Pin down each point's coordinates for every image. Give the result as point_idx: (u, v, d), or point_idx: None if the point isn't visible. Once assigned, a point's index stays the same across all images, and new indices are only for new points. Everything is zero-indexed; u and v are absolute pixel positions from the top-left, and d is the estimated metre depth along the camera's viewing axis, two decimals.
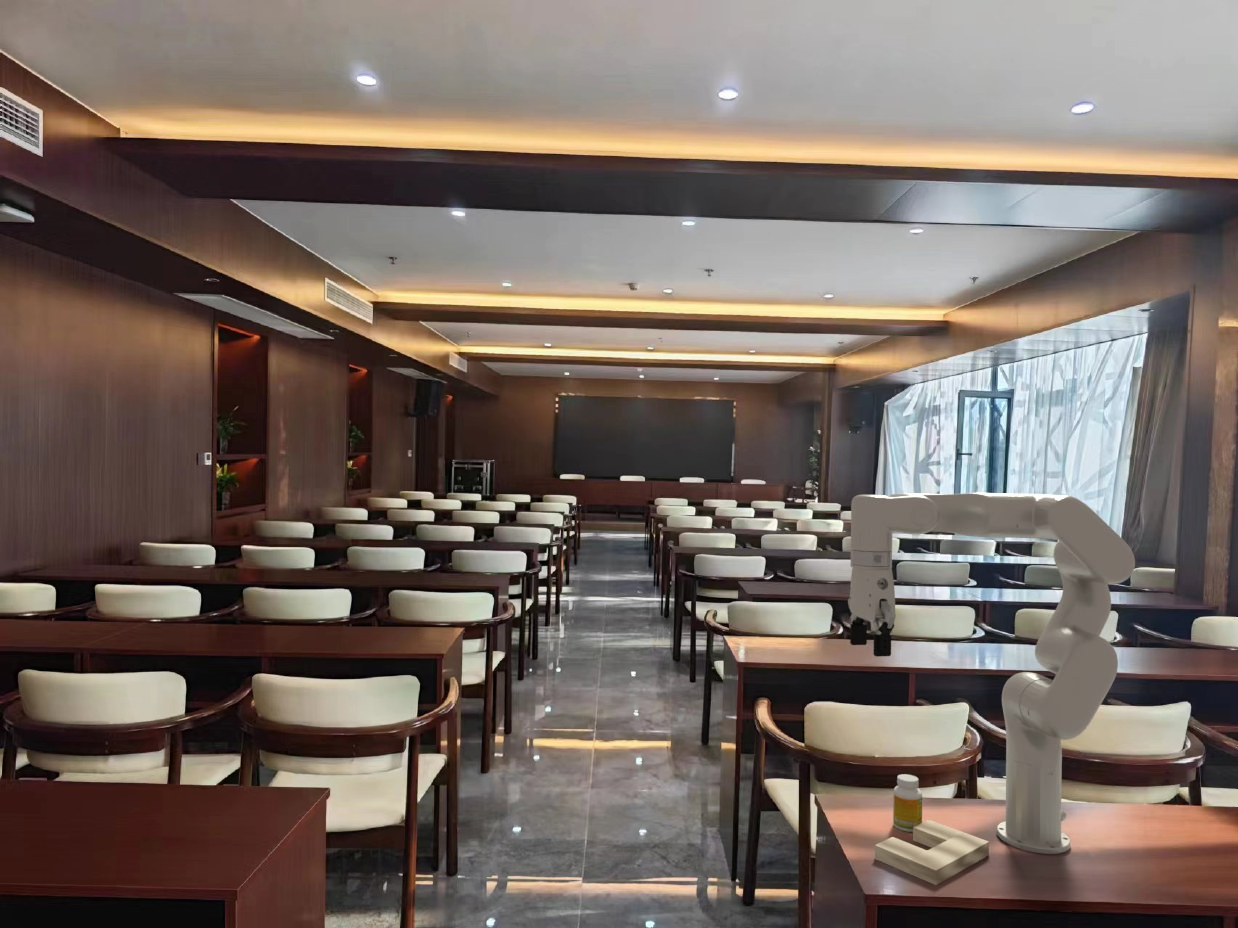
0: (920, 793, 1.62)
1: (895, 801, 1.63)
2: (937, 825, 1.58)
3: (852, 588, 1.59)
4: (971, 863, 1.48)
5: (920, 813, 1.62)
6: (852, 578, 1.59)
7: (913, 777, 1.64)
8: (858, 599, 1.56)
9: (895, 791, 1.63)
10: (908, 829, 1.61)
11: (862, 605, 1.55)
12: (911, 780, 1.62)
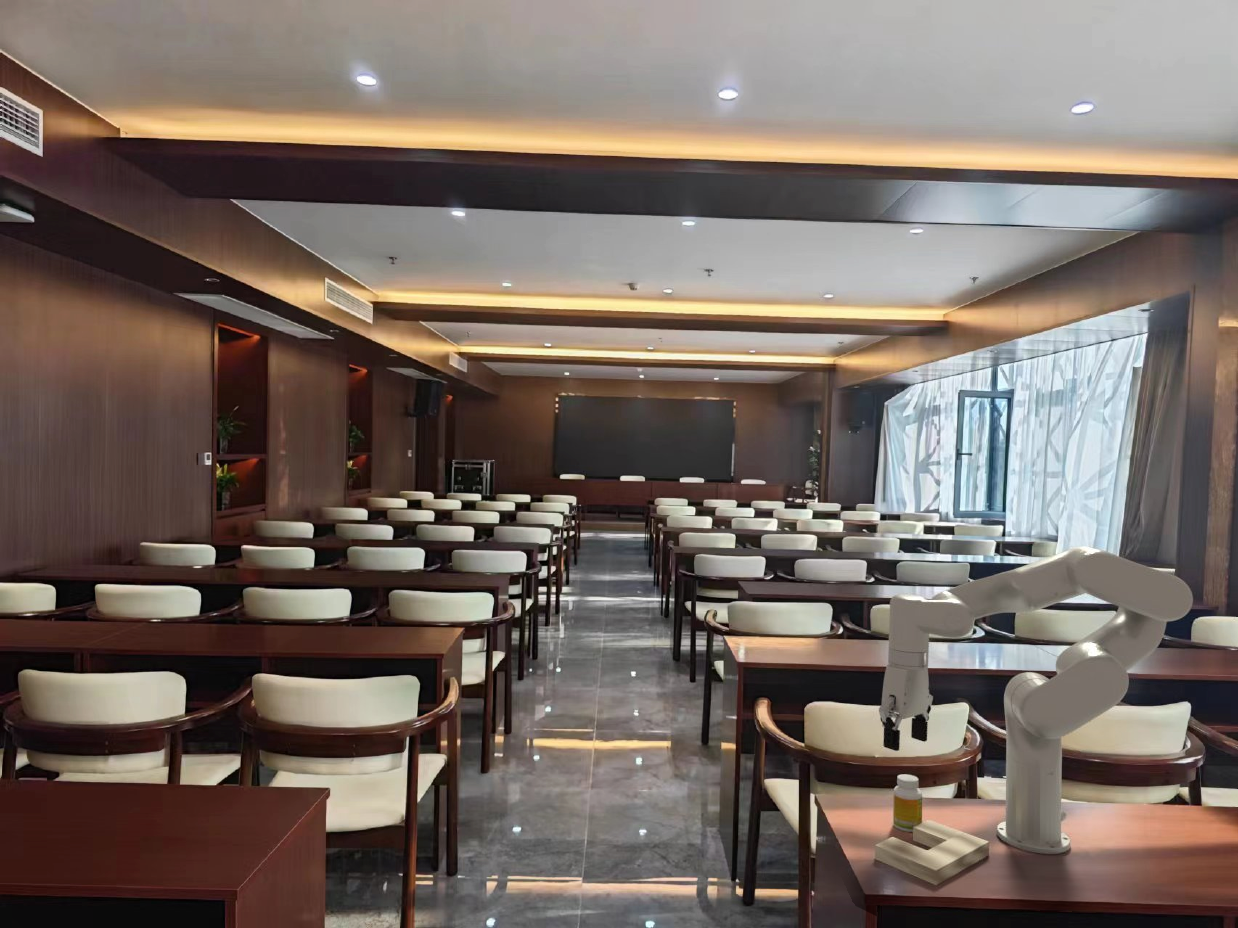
0: (920, 793, 1.62)
1: (895, 801, 1.63)
2: (937, 825, 1.58)
3: (909, 692, 1.60)
4: (971, 863, 1.48)
5: (920, 813, 1.62)
6: (909, 682, 1.60)
7: (913, 777, 1.64)
8: (917, 698, 1.62)
9: (895, 791, 1.63)
10: (908, 829, 1.61)
11: (921, 701, 1.63)
12: (911, 780, 1.62)
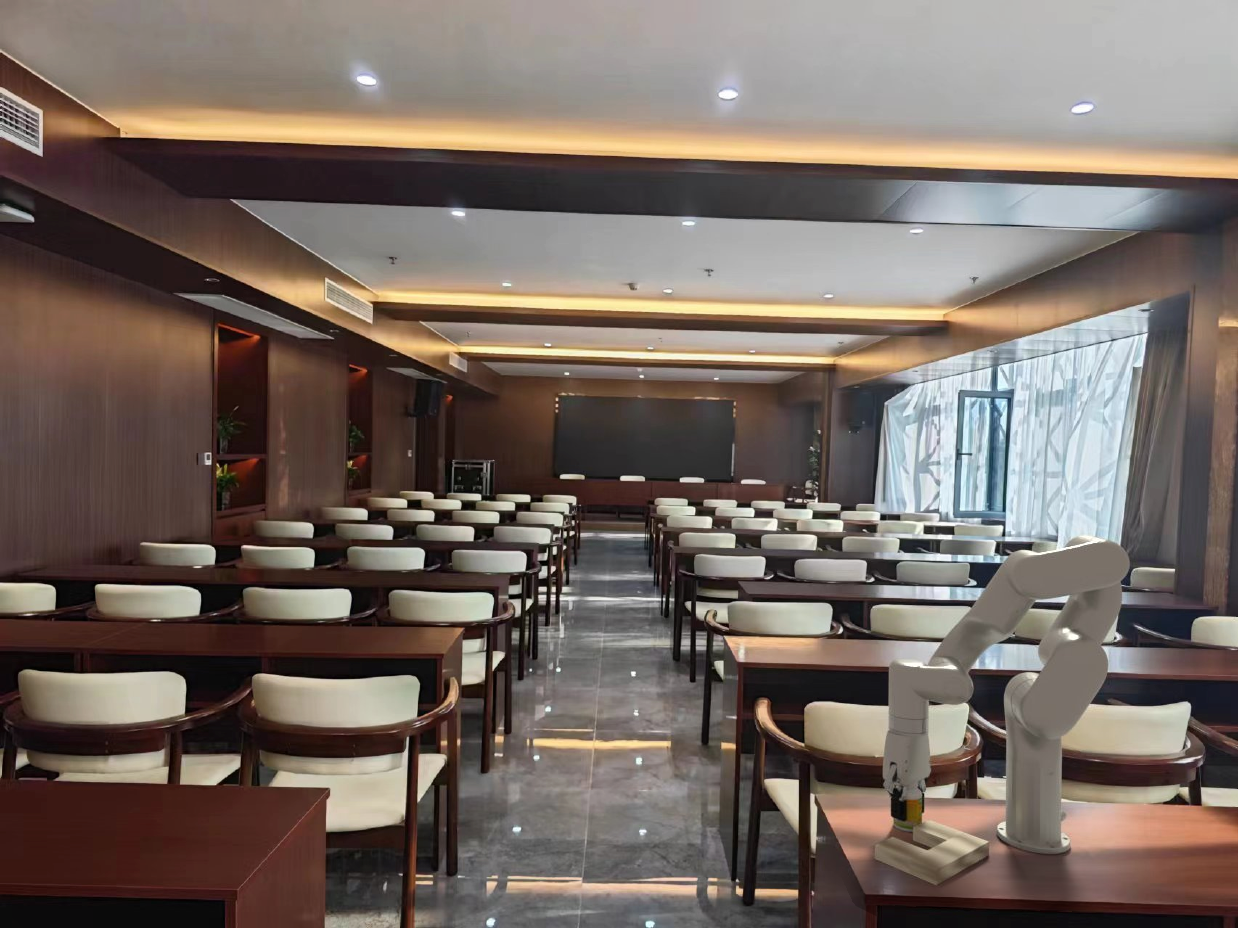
0: (920, 793, 1.62)
1: None
2: (937, 825, 1.58)
3: (910, 759, 1.60)
4: (971, 863, 1.48)
5: (920, 813, 1.62)
6: (910, 749, 1.60)
7: None
8: (918, 764, 1.62)
9: None
10: (908, 829, 1.61)
11: (922, 767, 1.63)
12: None
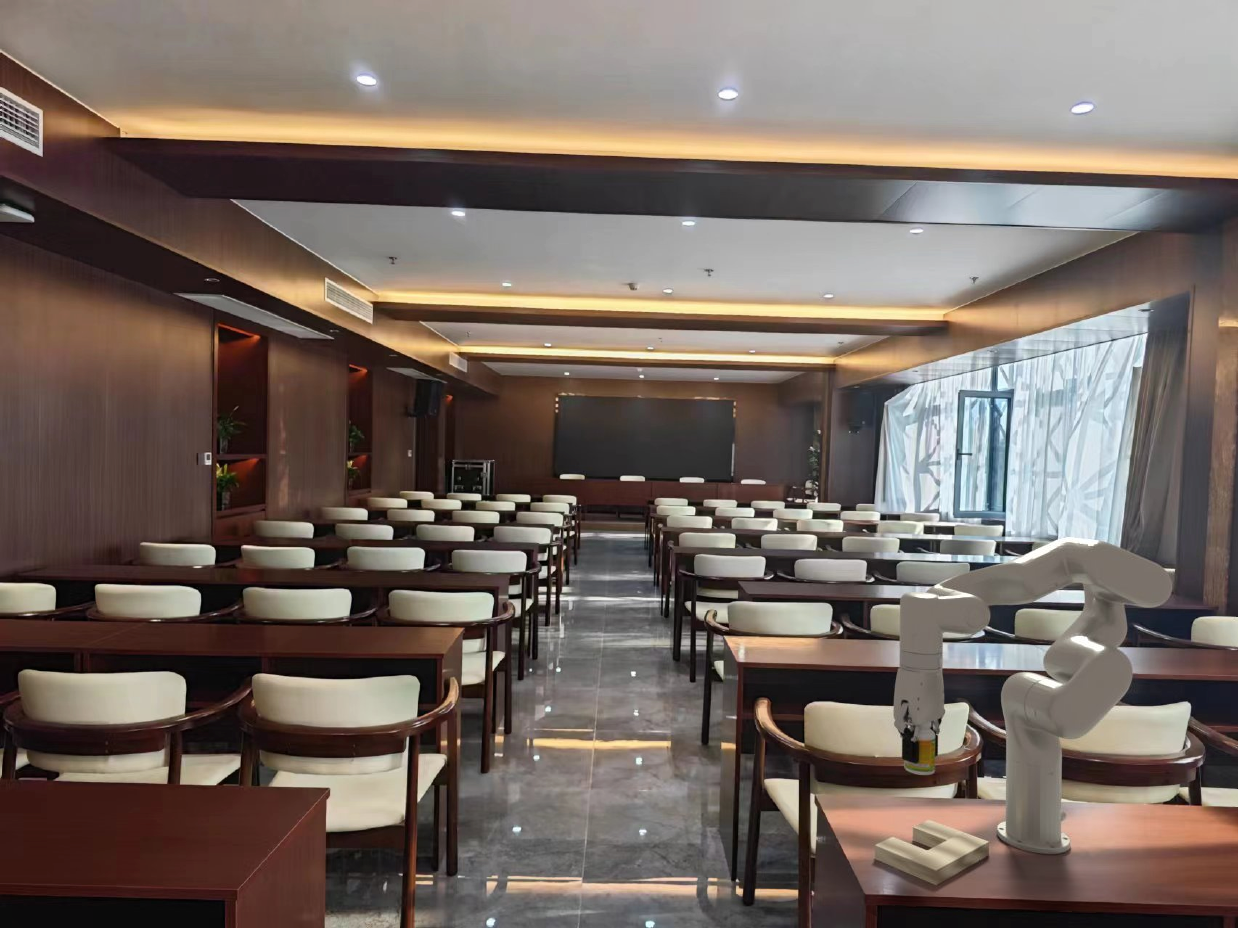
0: (933, 734, 1.52)
1: None
2: (937, 825, 1.58)
3: (922, 696, 1.50)
4: (971, 863, 1.48)
5: (933, 755, 1.51)
6: (923, 685, 1.50)
7: None
8: (932, 703, 1.51)
9: None
10: (920, 772, 1.51)
11: (936, 706, 1.52)
12: None
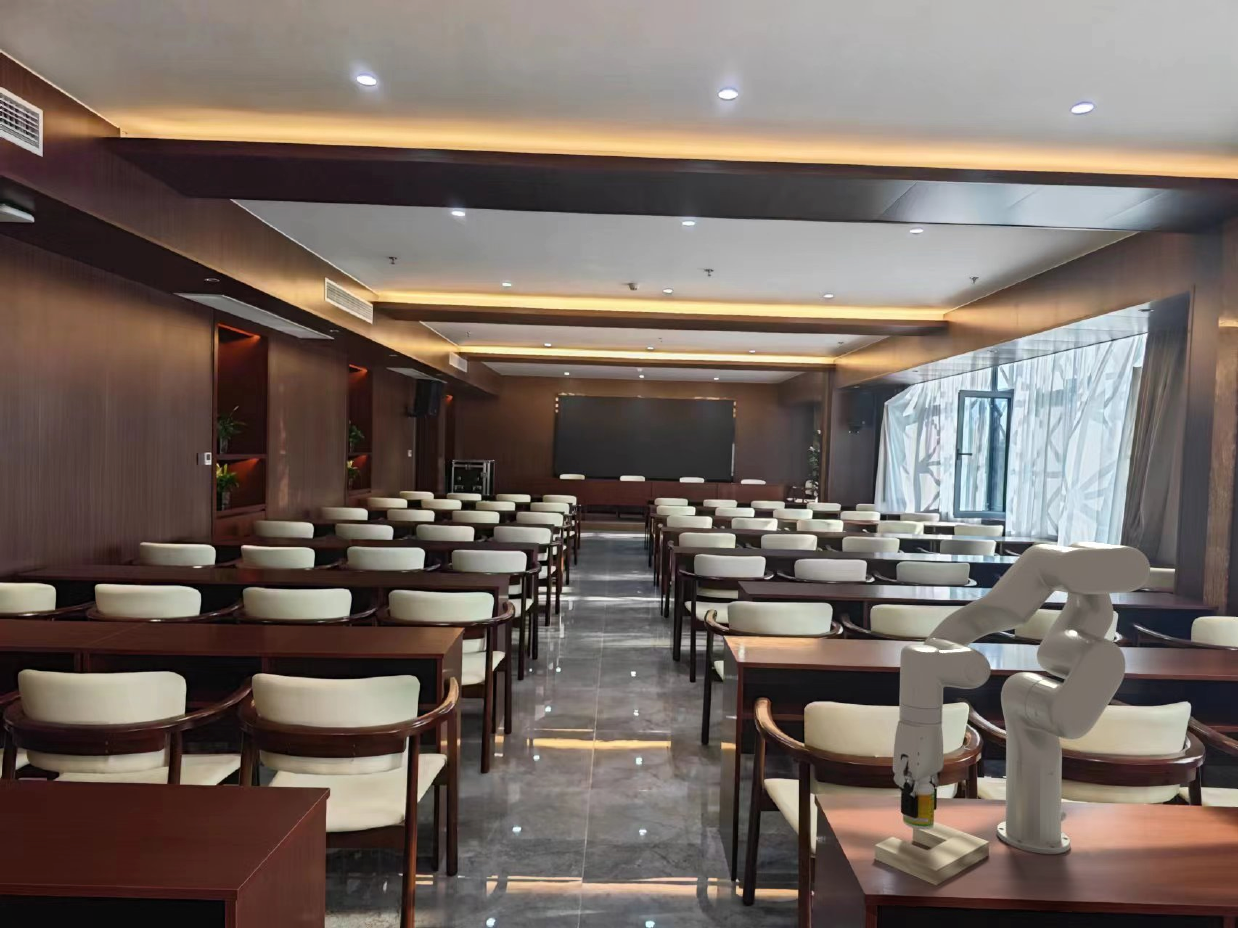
0: (932, 788, 1.51)
1: None
2: (937, 825, 1.58)
3: (922, 751, 1.49)
4: (971, 863, 1.48)
5: (932, 809, 1.51)
6: (923, 740, 1.49)
7: None
8: (931, 757, 1.51)
9: None
10: (919, 826, 1.50)
11: (935, 760, 1.52)
12: None
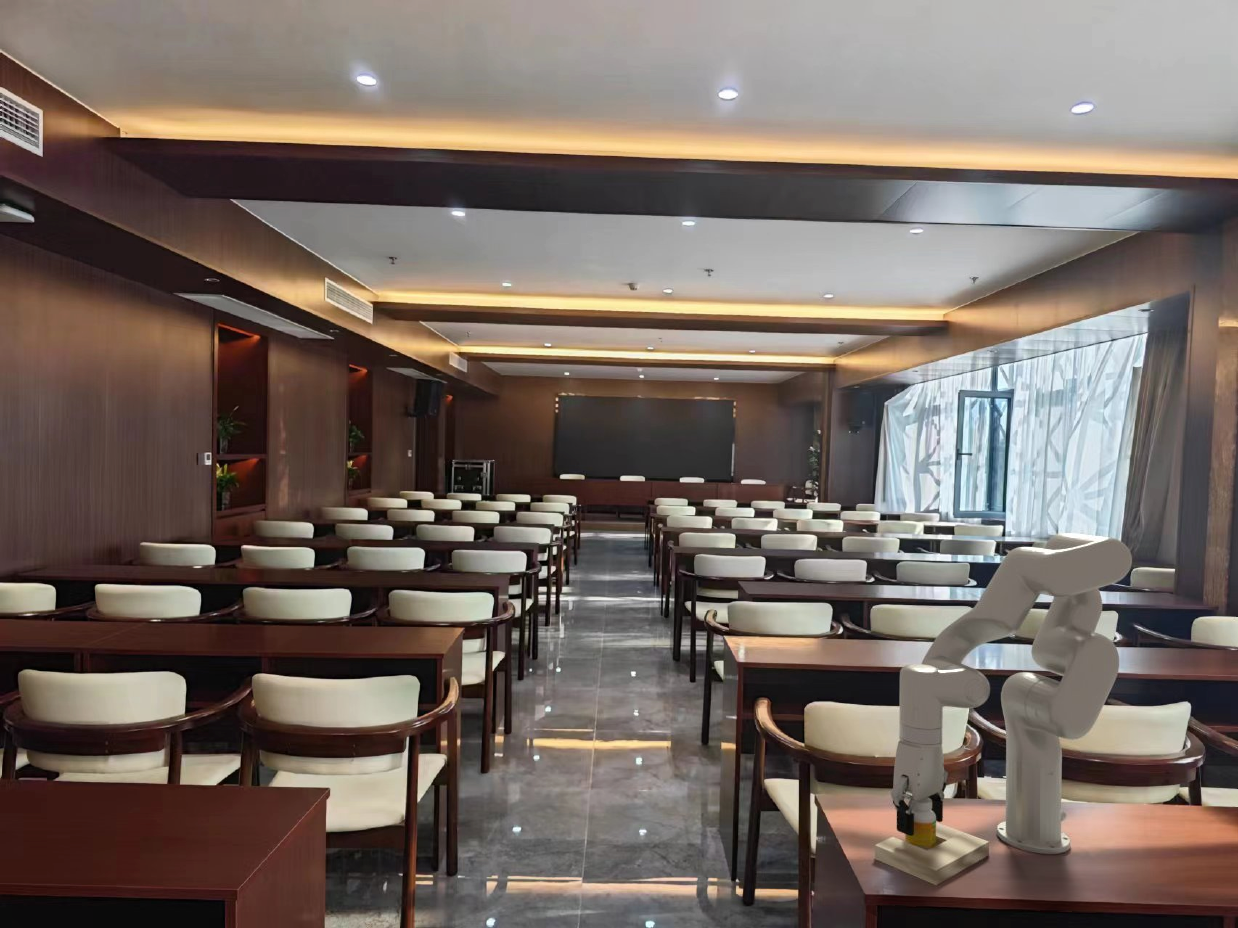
0: (934, 816, 1.51)
1: None
2: (937, 825, 1.58)
3: (923, 771, 1.49)
4: (971, 863, 1.48)
5: (934, 837, 1.51)
6: (923, 761, 1.49)
7: (926, 798, 1.53)
8: (932, 777, 1.51)
9: None
10: None
11: (936, 780, 1.52)
12: (924, 802, 1.51)
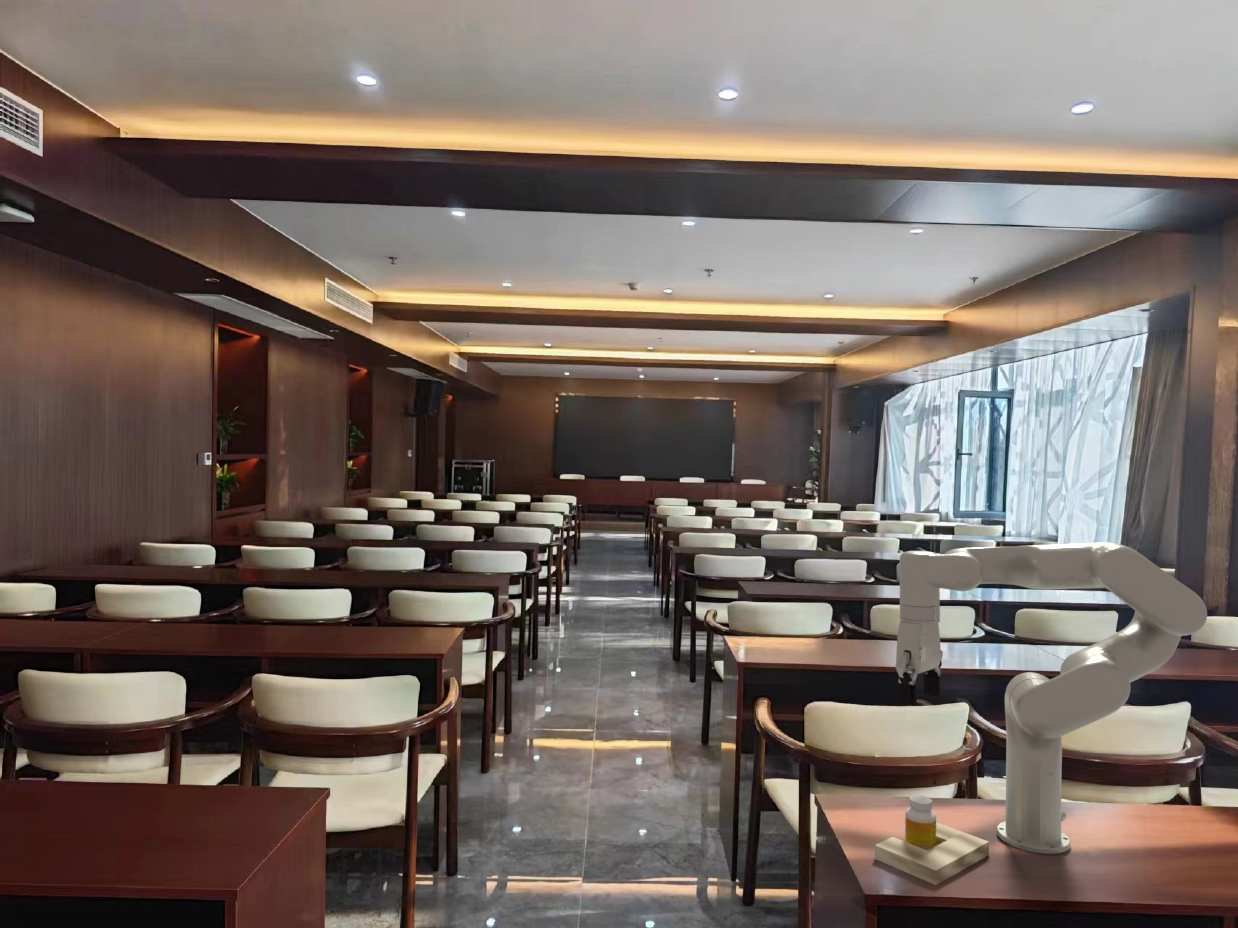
0: (934, 816, 1.51)
1: (907, 824, 1.52)
2: (937, 825, 1.58)
3: (923, 646, 1.61)
4: (971, 863, 1.48)
5: (934, 837, 1.51)
6: (923, 636, 1.61)
7: (926, 798, 1.53)
8: (931, 652, 1.63)
9: (907, 813, 1.53)
10: None
11: (934, 656, 1.64)
12: (924, 802, 1.51)
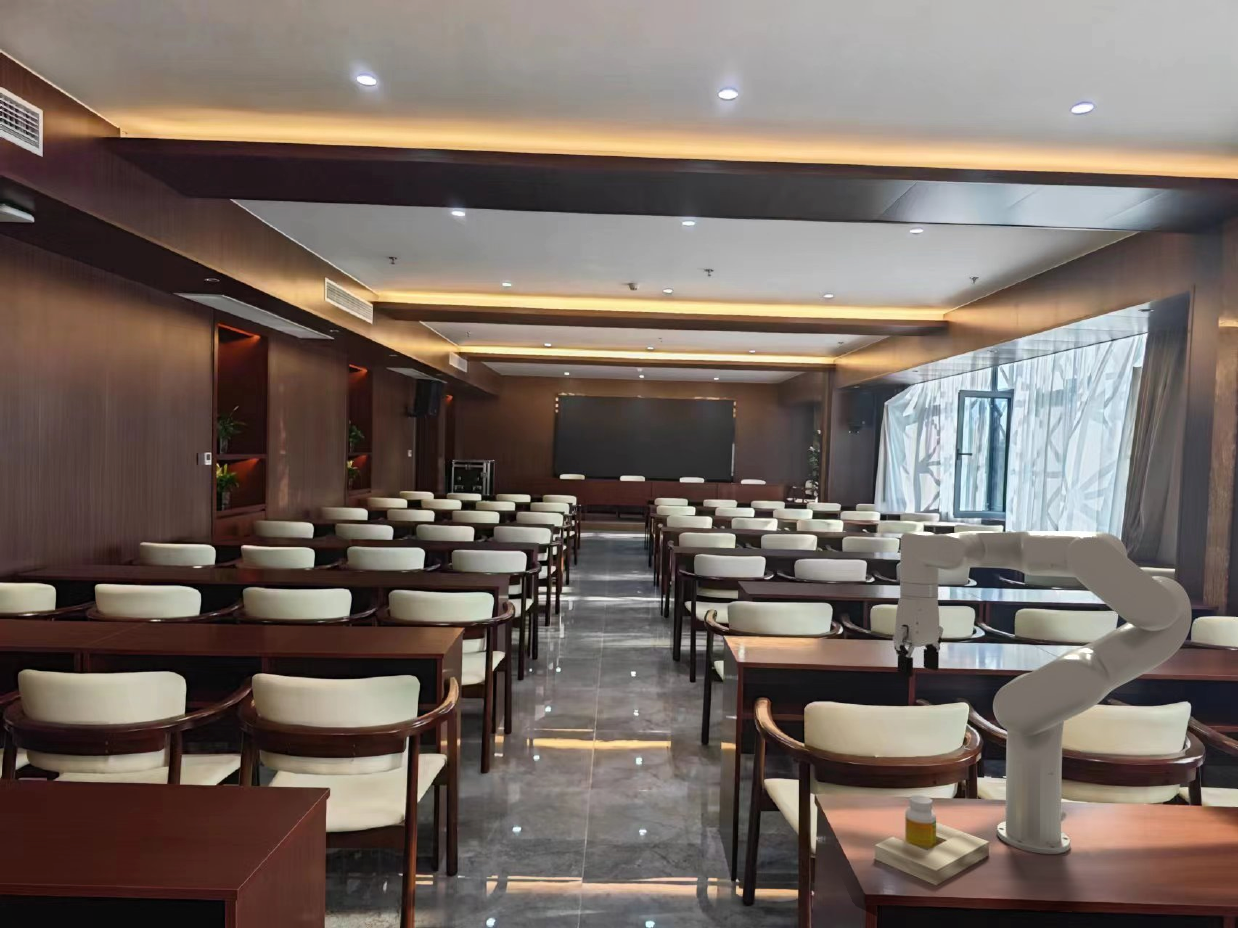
0: (934, 816, 1.51)
1: (907, 824, 1.52)
2: (937, 825, 1.58)
3: (921, 621, 1.70)
4: (971, 863, 1.48)
5: (934, 837, 1.51)
6: (921, 612, 1.70)
7: (926, 798, 1.53)
8: (929, 628, 1.71)
9: (907, 813, 1.53)
10: None
11: (932, 631, 1.72)
12: (924, 802, 1.51)
